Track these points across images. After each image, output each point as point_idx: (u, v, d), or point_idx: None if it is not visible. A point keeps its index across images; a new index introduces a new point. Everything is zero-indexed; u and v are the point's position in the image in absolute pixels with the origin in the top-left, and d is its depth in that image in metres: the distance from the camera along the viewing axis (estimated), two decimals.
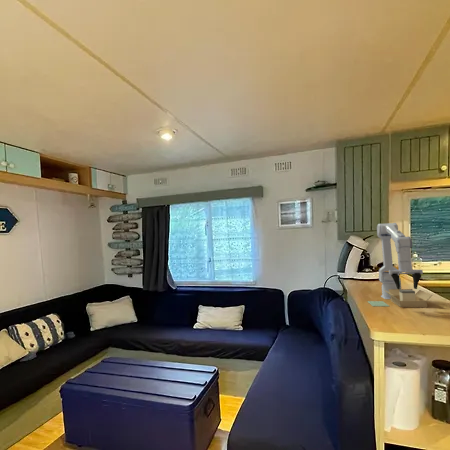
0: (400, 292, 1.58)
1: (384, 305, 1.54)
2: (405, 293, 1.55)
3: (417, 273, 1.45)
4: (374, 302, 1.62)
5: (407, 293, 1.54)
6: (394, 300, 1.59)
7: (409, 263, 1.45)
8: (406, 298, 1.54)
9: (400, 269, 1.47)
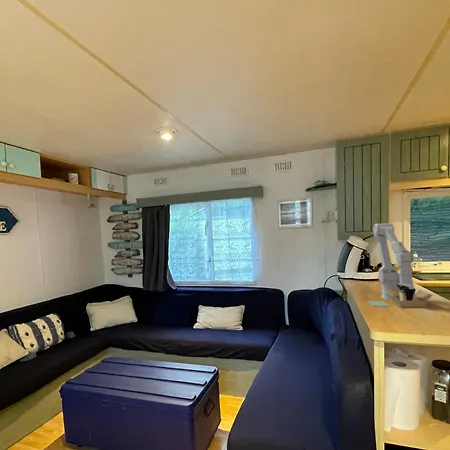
0: (400, 292, 1.58)
1: (384, 305, 1.54)
2: None
3: (408, 287, 1.52)
4: (374, 302, 1.62)
5: None
6: (394, 300, 1.59)
7: (401, 277, 1.56)
8: None
9: None
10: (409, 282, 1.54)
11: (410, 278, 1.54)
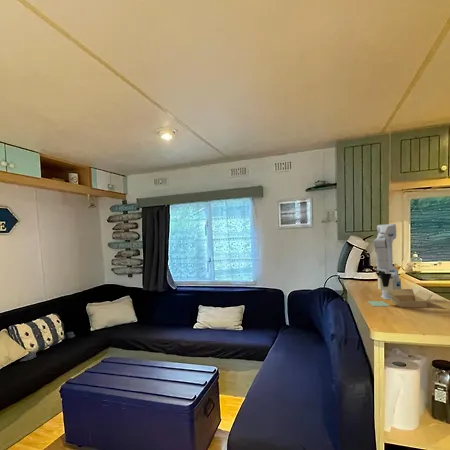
0: (378, 278, 1.60)
1: (384, 305, 1.54)
2: None
3: (384, 272, 1.55)
4: (374, 302, 1.62)
5: None
6: (394, 300, 1.59)
7: (378, 262, 1.59)
8: None
9: None
10: (385, 267, 1.57)
11: (386, 263, 1.57)
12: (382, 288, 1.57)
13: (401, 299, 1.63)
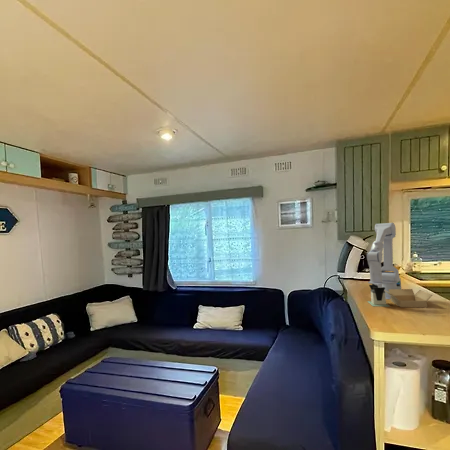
0: (371, 292, 1.61)
1: (384, 305, 1.54)
2: None
3: (377, 286, 1.55)
4: None
5: None
6: (394, 300, 1.59)
7: (371, 275, 1.60)
8: None
9: None
10: (378, 281, 1.57)
11: (379, 277, 1.58)
12: (375, 302, 1.58)
13: (401, 299, 1.63)
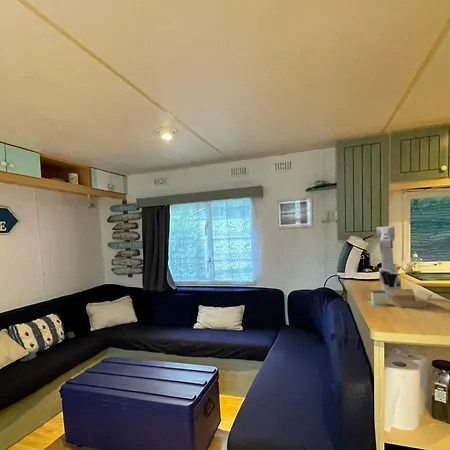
0: (371, 292, 1.61)
1: (384, 305, 1.54)
2: (375, 293, 1.58)
3: (389, 273, 1.57)
4: None
5: (377, 293, 1.58)
6: (394, 300, 1.59)
7: (383, 262, 1.61)
8: (376, 297, 1.58)
9: None
10: (390, 267, 1.59)
11: (391, 264, 1.59)
12: (375, 302, 1.58)
13: (401, 299, 1.63)
